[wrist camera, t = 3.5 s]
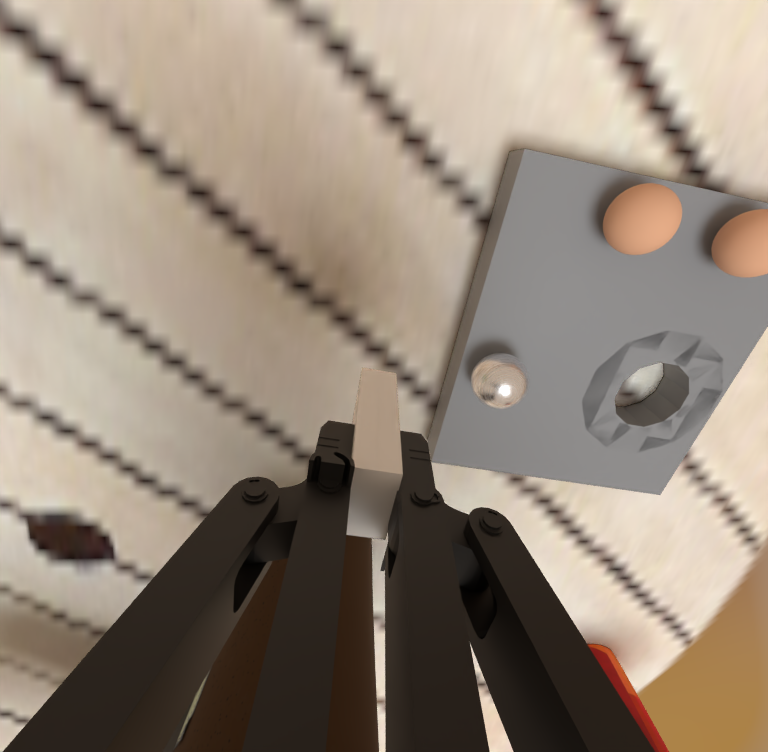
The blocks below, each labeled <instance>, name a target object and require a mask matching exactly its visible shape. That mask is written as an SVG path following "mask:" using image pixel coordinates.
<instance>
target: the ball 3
mask: <svg viewBox="0 0 768 752" xmlns="http://www.w3.org/2000/svg"><path fill="white" fill-rule="evenodd" d="M711 251H712V258H713V260H714V262H715V264H716V265H717V266H718V267H719V268H720V269H721V270H722V271H724V272H725V273H727V274H729V275H732V276H736V277H757V276H761V275H765V274H768V209H758V210H752V211H748V212H745V213H742V214H740V215H738V216H736V217H734V218H733V219H731V220H730V221H728V222H727V223H726V224H725V225H724V226H722V228H721V229H720V230H719V231H718V233H717V234H716V236H715V238H714V240H713V243H712V249H711Z"/></svg>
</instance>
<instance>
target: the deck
mask: <svg viewBox="0 0 768 752" xmlns="http://www.w3.org/2000/svg"><path fill="white" fill-rule="evenodd" d="M646 183H654V184H660V185H663V186H666V187H668V188H669V189H671V190H672V191H673V192H674V193H675V194H676V195H677V196H678V198H679V200H680V202H681V206H682V219H681V223H680V225H679V228H678V230H677V231H676V233H675V234H674V236H673V237H672V238H671V239H670V240H669V241H668V242H667V243H666V244H665V245H663V246H662V247H660V248H659V249H657V250H655V251H652V252H650V253H646V254H642V255H628V254H624V253H621V252H619V251H617V250H615V249H614V248H613V247H611V246H610V245H609V243H608V242H607V240H606V238H605V236H604V233H603V220H604V216H605V213H606V211H607V209H608V207H609V205H610V204H611V203H612V201H613V200H614V199H615V198H616V197H617V196H618V195H619V194H621V193H622V192H624V191H625V190H627V189H629V188H631V187H633V186H636V185H640V184H646ZM758 209H768V203H765V202H761V201H756V200H752V199H747V198H743V197H739V196H734V195H730V194H725V193H721V192H716V191H712V190H707V189H703V188H698V187H694V186H689V185H685V184H681V183H676V182H672V181H667V180H663V179H658V178H654V177H649V176H645V175H640V174H636V173H631V172H627V171H622V170H618V169H614V168H609V167H605V166H600V165H596V164H591V163H587V162H582V161H578V160H573V159H569V158H564V157H560V156H556V155H551V154H547V153H542V152H538V151H533V150H529V149H520V150H515V151H510V152H509V155H508V159H507V163H506V166H505V170H504V173H503V177H502V180H501V184H500V187H499V191H498V194H497V198H496V201H495V205H494V208H493V212H492V215H491V219H490V222H489V226H488V229H487V233H486V236H485V240H484V243H483V247H482V250H481V254H480V257H479V261H478V264H477V268H476V271H475V275H474V278H473V282H472V285H471V289H470V292H469V296H468V300H467V303H466V307H465V310H464V314H463V317H462V321H461V324H460V328H459V331H458V335H457V338H456V342H455V345H454V349H453V352H452V356H451V359H450V363H449V366H448V370H447V373H446V377H445V380H444V384H443V387H442V391H441V394H440V398H439V401H438V405H437V408H436V412H435V415H434V419H433V422H432V426H431V430H430V433H429V437H428V440H427V441H428V447H429V452H430V457H431V462H435V463H442V464H449V465H456V466H463V467H469V468H476V469H483V470H490V471H497V472H504V473H511V474H518V475H525V476H532V477H539V478H546V479H553V480H560V481H566V482H573V483H580V484H587V485H594V486H601V487H608V488H615V489H622V490H629V491H636V492H643V493H650V494H656V495H660V494H661V493H662V491H663V490H664V488H665V487H666V485H667V483H668V482H669V480H670V479H671V477H672V476H673V474H674V472H675V471H676V469H677V468H678V466H679V465H680V463H681V462H682V460H683V458H684V457H685V455H686V454H687V452H688V451H689V449H690V447H691V446H692V444H693V443H694V441H695V440H696V438H697V436H698V435H699V433H700V432H701V430H702V429H703V427H704V425H705V424H706V422H707V421H708V419H709V418H710V416H711V414H712V413H713V411H714V410H715V408H716V407H717V405H718V403H719V402H720V400H721V399H722V397H723V396H724V394H725V392H726V391H727V389H728V388H729V386H730V385H731V383H732V381H733V380H734V378H735V377H736V375H737V374H738V372H739V370H740V369H741V367H742V366H743V364H744V363H745V361H746V360H747V358H748V356H749V355H750V353H751V352H752V350H753V349H754V347H755V345H756V344H757V342H758V341H759V339H760V338H761V336H762V334H763V333H764V331H765V330H766V328H767V327H768V274H765V275H761V276H757V277H736V276H732V275H729V274H727V273H725V272H724V271H722V270H721V269H720V268H719V267H718V266H717V265H716V264H715V262H714V260H713V258H712V251H711V249H712V243H713V240H714V238H715V236H716V234H717V233H718V231H719V230H720V229H721V228H722V226H724V225H725V224H726V223H727V222H728V221H730V220H731V219H733V218H734V217H736V216H738V215H740V214H742V213H745V212H748V211H752V210H758ZM494 353H506V354H510V355H512V356H514V357H516V358H518V359H519V360H520V361H521V362H522V363H523V364H524V366H525V367H526V369H527V371H528V375H529V388H528V391H527V393H526V395H525V397H524V398H523V399H522V400H521V401H520V402H519V403H518V404H516V405H514V406H512V407H510V408H506V409H495V408H491V407H488V406H486V405H484V404H483V403H482V402H480V401H479V400H478V398H477V397H476V396H475V394H474V392H473V390H472V386H471V376H472V372H473V370H474V368H475V366H476V365H477V363H478V362H479V361H480V360H481V359H483V358H484V357H486V356H488V355H491V354H494ZM660 362H661V363H663V365H664V377H663V378H662V380H661V382H660V384H659V386H658V388H657V389H656V391H655V392H654V393H652V394H651V395H650V396H648V397H647V398H646V399H644V400H643V401H642V402H640V403H637V404H633V405H630V406H626V407H618V406H615V397H616V395H617V393H618V391H619V389H620V387H621V385H622V383H623V381H625V380H626V379H627V378H628V377H630V376H631V375H632V374H633V373H635V372H636V371H637V370H638V369H640V368H643V367H646V366H650V365H653V364H656V363H660Z"/></svg>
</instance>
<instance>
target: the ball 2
mask: <svg viewBox="0 0 768 752" xmlns="http://www.w3.org/2000/svg"><path fill="white" fill-rule="evenodd" d="M681 219H682V206H681V202H680V200H679V198H678V196H677V195H676V194H675V193H674V192H673V191H672V190H671V189H669V188H668V187H666V186H663V185H660V184H654V183H646V184H640V185H636V186H633V187H631V188H629V189H627V190H625V191H624V192H622V193H621V194H619V195H618V196H617V197H616V198H615V199H614V200H613V201H612V203H611V204H610V205H609V207H608V209H607V211H606V213H605V216H604V220H603V233H604V236H605V238H606V240H607V242H608V243H609V245H610V246H611V247H613V248H614V249H615V250H617V251H619V252H621V253H624V254H628V255H642V254H646V253H650V252H652V251H655V250H657V249H659V248H660V247H662V246H663V245H665V244H666V243H667V242H668V241H669V240H670V239H671V238H672V237H673V236H674V234H675V233H676V231H677V230H678V228H679V225H680V223H681Z"/></svg>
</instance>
